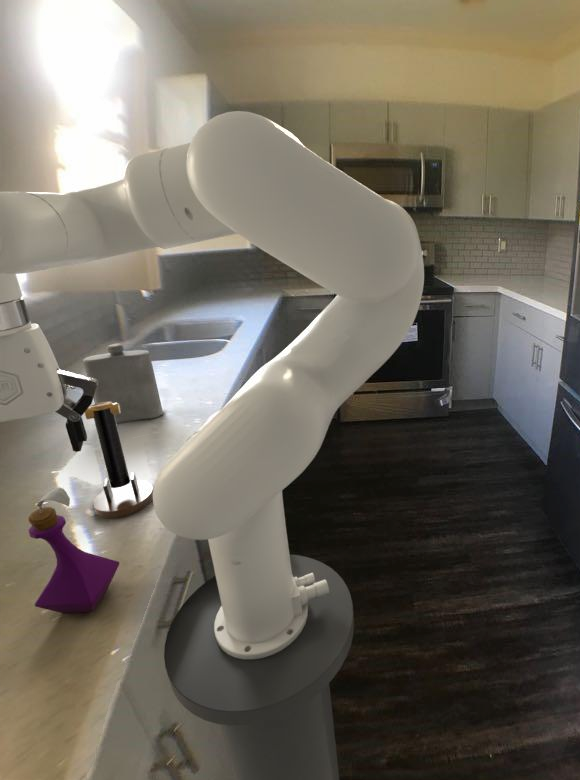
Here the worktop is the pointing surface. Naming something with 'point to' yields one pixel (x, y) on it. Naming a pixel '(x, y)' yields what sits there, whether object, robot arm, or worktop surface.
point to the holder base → (123, 498)
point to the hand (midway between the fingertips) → (33, 456)
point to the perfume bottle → (69, 563)
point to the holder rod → (110, 441)
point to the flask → (125, 382)
